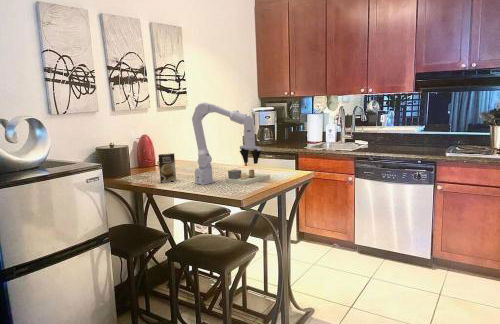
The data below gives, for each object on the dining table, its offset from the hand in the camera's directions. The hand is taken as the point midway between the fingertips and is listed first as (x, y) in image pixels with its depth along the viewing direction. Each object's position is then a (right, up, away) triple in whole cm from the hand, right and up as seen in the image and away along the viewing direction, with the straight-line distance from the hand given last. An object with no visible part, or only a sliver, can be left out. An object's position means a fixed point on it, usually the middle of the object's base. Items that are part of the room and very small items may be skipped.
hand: (250, 163), depth 207 cm
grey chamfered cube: (-9, -8, +1) cm, 12 cm away
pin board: (-2, -10, +4) cm, 10 cm away
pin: (+1, -10, +2) cm, 10 cm away
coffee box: (-48, -11, +13) cm, 51 cm away
